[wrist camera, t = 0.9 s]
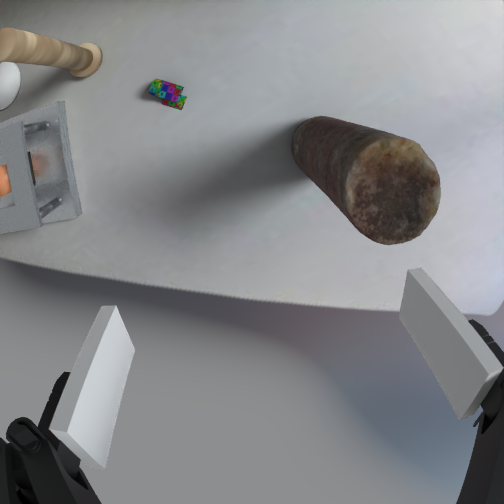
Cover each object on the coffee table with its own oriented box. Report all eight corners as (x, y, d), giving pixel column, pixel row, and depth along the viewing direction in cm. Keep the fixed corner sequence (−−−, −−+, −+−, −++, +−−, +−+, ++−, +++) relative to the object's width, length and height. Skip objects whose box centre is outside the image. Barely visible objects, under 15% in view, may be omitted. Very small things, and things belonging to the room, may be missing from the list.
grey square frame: (-14, 130, 29) (-51, 141, 22) (64, 101, 30) (29, 103, 23) (5, 226, 36) (-26, 249, 29) (82, 212, 37) (54, 238, 29)
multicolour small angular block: (150, 101, 32) (145, 101, 30) (158, 79, 31) (154, 77, 29) (182, 112, 33) (179, 112, 31) (191, 89, 32) (189, 88, 30)
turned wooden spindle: (70, 49, 27) (-17, 31, 12) (101, 39, 27) (23, 9, 12) (72, 81, 29) (-18, 79, 14) (103, 72, 29) (21, 59, 14)
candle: (306, 187, 38) (373, 266, 20) (275, 135, 35) (327, 169, 17) (357, 157, 36) (459, 210, 18) (330, 105, 33) (428, 113, 15)
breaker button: (5, 163, 30) (-14, 171, 26) (23, 157, 30) (5, 164, 26) (10, 189, 31) (-8, 199, 28) (28, 184, 31) (11, 194, 28)
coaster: (-14, 71, 26) (-15, 71, 25) (20, 54, 26) (18, 54, 25) (-11, 115, 29) (-13, 116, 28) (22, 101, 29) (20, 101, 29)
